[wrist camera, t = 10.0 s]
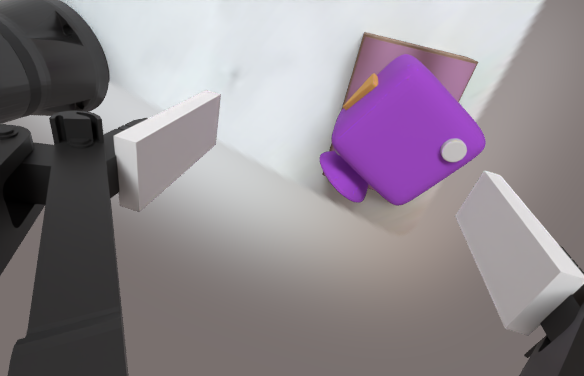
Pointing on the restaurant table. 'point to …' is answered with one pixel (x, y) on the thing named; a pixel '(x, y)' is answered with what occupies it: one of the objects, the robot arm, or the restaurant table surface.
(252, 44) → the restaurant table surface
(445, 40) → the restaurant table surface
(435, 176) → the toy camera
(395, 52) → the walnut step
